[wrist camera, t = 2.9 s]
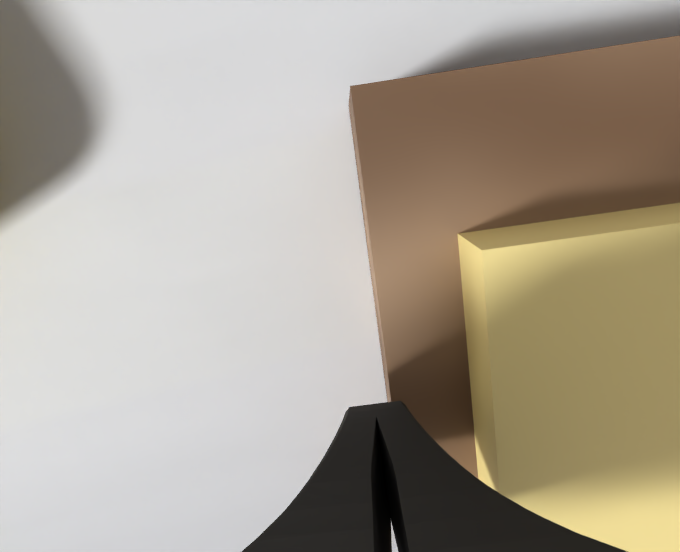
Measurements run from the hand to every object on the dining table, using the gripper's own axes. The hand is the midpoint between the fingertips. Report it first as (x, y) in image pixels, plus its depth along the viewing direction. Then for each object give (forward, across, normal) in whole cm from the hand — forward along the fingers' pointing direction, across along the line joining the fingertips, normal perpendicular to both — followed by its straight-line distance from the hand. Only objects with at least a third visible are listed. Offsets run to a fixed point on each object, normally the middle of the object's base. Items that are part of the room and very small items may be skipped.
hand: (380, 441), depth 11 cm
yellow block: (+1, -5, 0) cm, 5 cm away
